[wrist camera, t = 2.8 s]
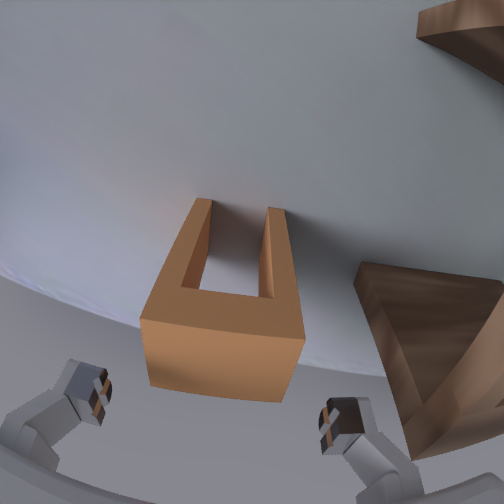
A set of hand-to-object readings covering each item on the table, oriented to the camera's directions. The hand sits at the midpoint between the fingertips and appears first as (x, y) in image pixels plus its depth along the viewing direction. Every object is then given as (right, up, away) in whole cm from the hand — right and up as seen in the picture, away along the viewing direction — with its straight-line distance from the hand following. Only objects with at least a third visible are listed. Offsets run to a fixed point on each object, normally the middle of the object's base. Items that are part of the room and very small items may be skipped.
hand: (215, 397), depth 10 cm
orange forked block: (0, +6, +10) cm, 12 cm away
